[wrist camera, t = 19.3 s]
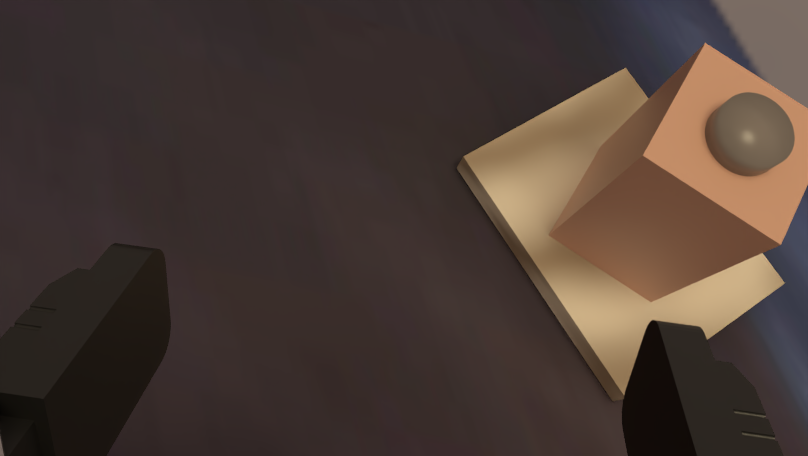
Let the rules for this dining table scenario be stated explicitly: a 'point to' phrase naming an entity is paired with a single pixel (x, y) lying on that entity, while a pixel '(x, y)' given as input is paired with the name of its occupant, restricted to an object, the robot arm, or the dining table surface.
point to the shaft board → (567, 271)
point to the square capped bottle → (691, 180)
